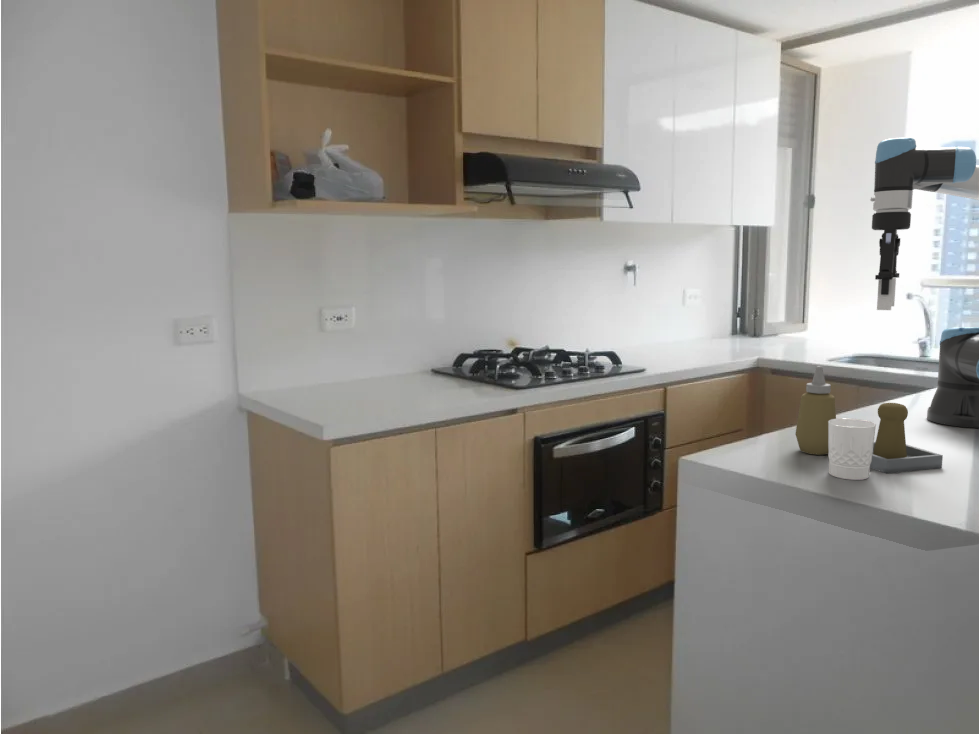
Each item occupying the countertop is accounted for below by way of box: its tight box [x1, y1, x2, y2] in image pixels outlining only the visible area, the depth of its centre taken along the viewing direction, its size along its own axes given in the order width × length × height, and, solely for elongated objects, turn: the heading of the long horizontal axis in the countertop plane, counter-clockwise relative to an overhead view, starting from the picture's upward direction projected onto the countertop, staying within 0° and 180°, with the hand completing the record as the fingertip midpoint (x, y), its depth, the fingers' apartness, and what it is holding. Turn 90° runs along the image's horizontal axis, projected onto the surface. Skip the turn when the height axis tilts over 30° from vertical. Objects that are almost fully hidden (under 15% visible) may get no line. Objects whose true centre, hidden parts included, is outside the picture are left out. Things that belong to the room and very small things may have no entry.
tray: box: [870, 441, 944, 474], centre depth 148 cm, size 13×13×2 cm
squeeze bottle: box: [795, 365, 837, 456], centre depth 155 cm, size 8×8×18 cm
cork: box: [873, 402, 909, 459], centre depth 147 cm, size 6×6×11 cm
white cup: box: [827, 417, 877, 481], centre depth 139 cm, size 8×8×10 cm
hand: (885, 308), depth 168 cm, fingers open, 13 cm apart
